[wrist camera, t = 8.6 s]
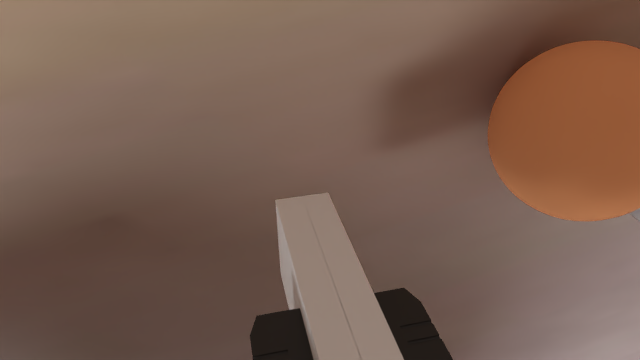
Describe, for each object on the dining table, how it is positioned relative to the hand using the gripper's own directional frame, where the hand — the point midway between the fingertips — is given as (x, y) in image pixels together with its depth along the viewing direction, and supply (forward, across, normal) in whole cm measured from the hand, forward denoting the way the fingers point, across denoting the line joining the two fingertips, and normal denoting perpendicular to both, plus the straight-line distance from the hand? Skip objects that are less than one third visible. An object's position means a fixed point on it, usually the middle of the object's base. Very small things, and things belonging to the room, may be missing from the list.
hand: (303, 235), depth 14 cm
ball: (+2, +10, +1) cm, 10 cm away
